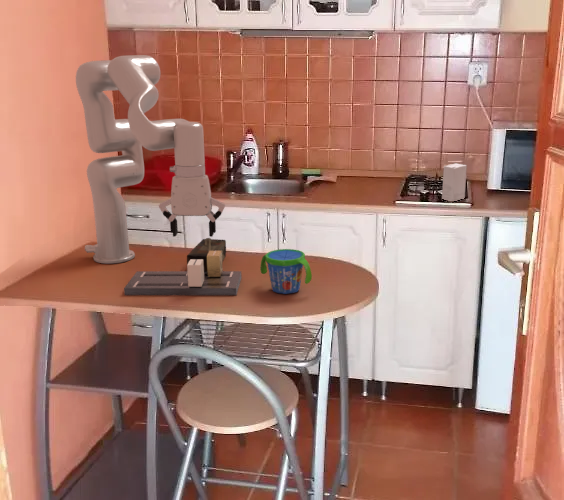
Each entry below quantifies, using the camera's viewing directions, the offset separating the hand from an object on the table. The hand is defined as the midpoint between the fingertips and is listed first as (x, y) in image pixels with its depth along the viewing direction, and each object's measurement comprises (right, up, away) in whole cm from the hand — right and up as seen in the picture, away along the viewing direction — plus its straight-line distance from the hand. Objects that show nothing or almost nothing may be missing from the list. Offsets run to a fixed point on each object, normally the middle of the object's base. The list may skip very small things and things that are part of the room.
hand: (193, 235), depth 180 cm
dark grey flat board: (-3, -14, +8) cm, 17 cm away
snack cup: (+24, -15, +4) cm, 29 cm away
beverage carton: (+1, -9, +26) cm, 28 cm away
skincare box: (+95, +17, +105) cm, 142 cm away
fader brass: (+5, -11, +11) cm, 16 cm away
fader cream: (0, -13, +4) cm, 13 cm away
